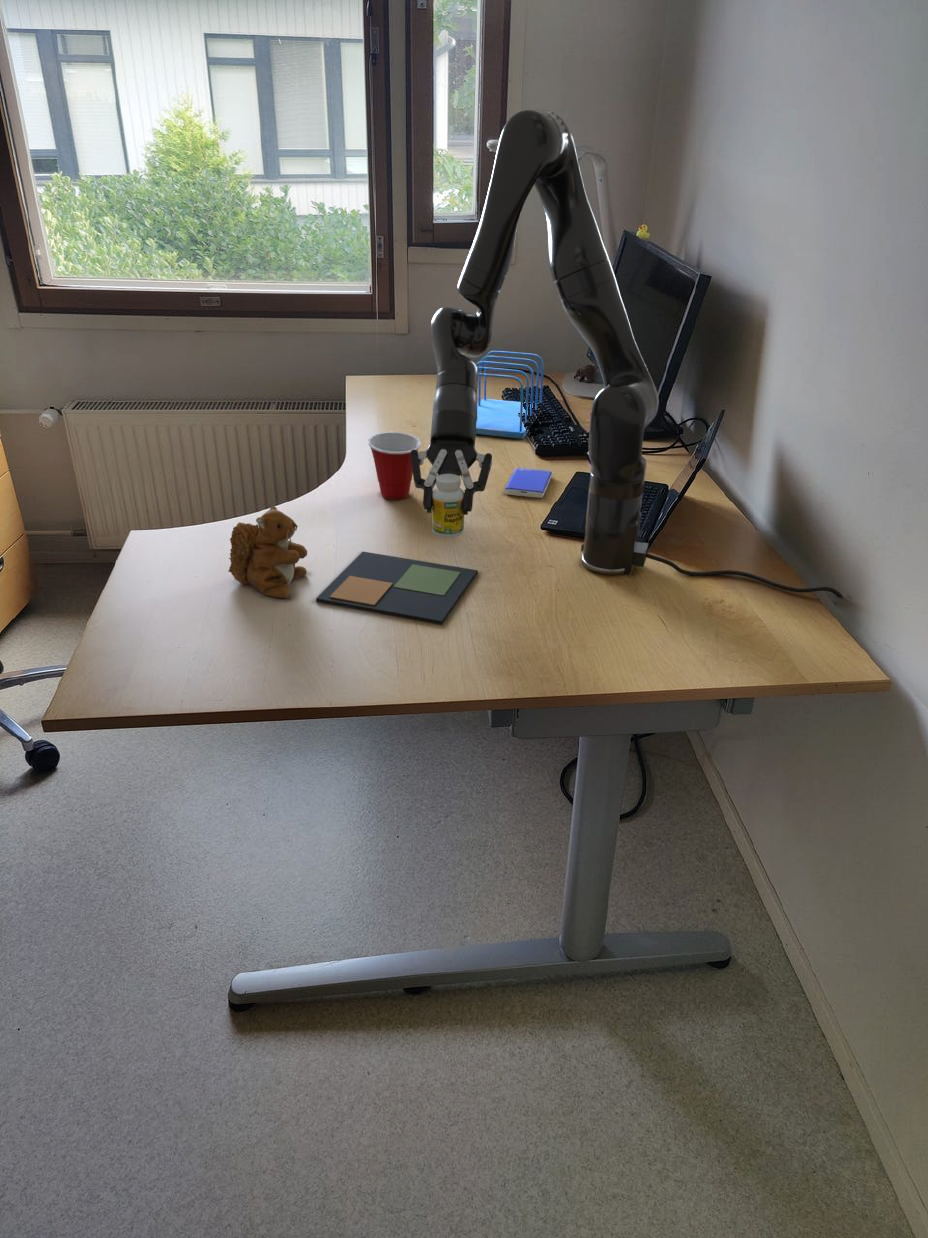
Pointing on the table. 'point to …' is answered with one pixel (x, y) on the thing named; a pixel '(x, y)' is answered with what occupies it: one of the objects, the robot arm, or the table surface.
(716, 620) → the table surface
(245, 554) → the stuffed squirrel
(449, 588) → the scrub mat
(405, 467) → the plastic cup
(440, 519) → the supplement bottle
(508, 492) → the hard drive
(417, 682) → the table surface
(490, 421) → the file sorter
